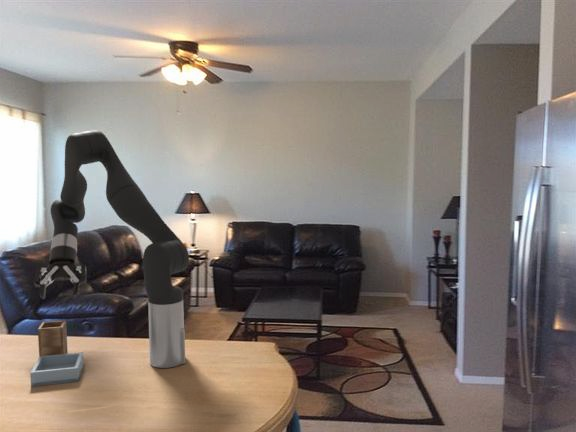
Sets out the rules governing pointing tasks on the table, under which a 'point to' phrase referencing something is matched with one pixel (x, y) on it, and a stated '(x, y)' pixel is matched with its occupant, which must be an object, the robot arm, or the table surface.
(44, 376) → the blue crate
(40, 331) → the walnut crate
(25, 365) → the table surface
